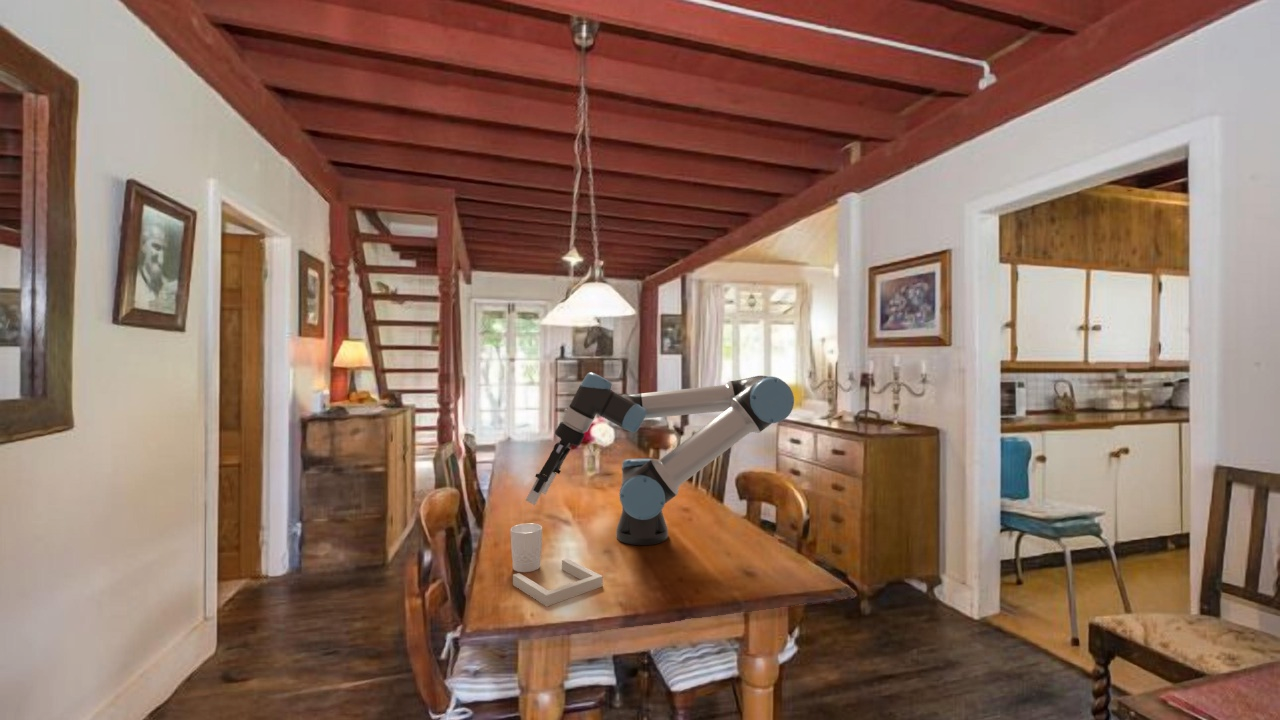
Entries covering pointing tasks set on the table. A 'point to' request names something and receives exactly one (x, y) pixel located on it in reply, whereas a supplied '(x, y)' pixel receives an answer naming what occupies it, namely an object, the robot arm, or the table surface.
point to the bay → (547, 598)
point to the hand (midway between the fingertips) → (535, 497)
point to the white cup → (526, 546)
